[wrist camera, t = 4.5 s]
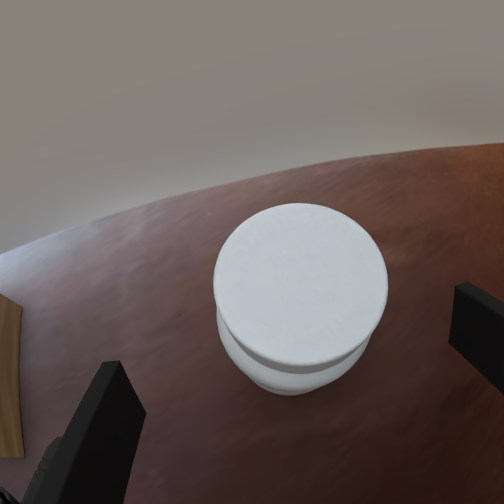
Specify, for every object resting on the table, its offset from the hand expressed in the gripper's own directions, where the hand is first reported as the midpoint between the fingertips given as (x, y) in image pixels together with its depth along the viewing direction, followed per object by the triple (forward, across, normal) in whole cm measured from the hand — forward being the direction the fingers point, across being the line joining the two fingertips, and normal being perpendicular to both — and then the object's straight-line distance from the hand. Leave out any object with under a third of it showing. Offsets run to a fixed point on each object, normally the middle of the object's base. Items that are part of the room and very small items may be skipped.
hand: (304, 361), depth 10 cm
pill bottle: (+7, 0, -4) cm, 9 cm away
